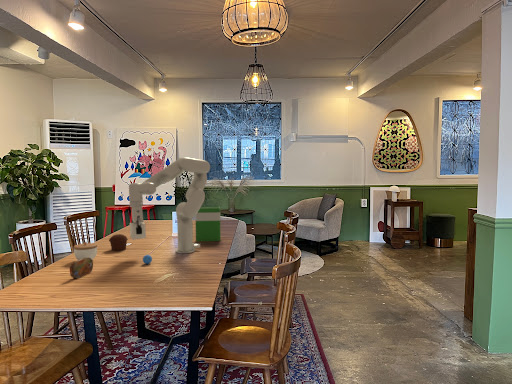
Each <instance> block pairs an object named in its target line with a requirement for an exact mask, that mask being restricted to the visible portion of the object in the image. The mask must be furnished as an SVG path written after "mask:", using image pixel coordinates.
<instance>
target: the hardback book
mask: <svg viewBox="0 0 512 384" xmlns="http://www.w3.org/2000/svg"><path fill="white" fill-rule="evenodd" d="M221 229H222V227H221V207H220V206H216V207H215V206H214V207H213V206H211V207H208V206H206V207H205V206H203V207H202V206H201V207H200V209H199V211H198V213H197V214H196V216H195V242H221V240H220V239H221V238H222V237H221V233H222V232H221Z"/></svg>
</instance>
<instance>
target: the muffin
mask: <svg viewBox="0 0 512 384" xmlns="http://www.w3.org/2000/svg"><path fill="white" fill-rule="evenodd" d="M108 241H109V242H110V247H111V251H113V252H122V251H126V249H127V243H128V237H127V236H126V235H124V234H122V233H120V234H119V233H118V234H114V235H112V236H110V237H109V240H108Z"/></svg>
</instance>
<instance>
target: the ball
mask: <svg viewBox="0 0 512 384" xmlns="http://www.w3.org/2000/svg"><path fill="white" fill-rule="evenodd" d="M142 262H143V263H144V264H146V265H148V264H151V263H152V262H153V258H152V256H151V255H150V254H145V255H144V256H143V257H142Z"/></svg>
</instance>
